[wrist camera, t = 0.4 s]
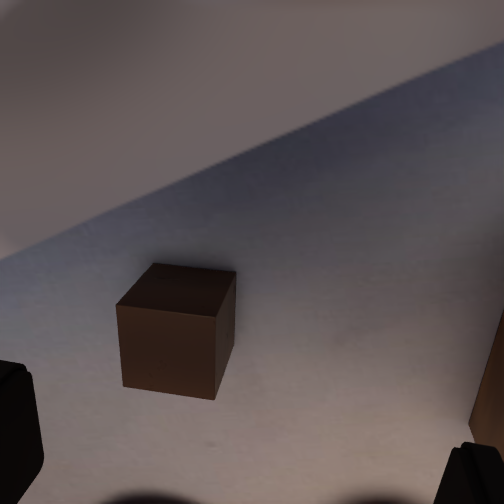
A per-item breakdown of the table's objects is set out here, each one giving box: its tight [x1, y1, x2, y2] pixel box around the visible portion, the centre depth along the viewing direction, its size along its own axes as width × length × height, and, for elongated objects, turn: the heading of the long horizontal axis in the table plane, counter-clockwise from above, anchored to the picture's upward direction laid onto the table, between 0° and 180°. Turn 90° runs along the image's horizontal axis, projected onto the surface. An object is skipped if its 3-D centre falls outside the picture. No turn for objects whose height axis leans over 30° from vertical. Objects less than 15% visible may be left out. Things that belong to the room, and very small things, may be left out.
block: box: [116, 263, 236, 400], centre depth 24 cm, size 5×5×5 cm
